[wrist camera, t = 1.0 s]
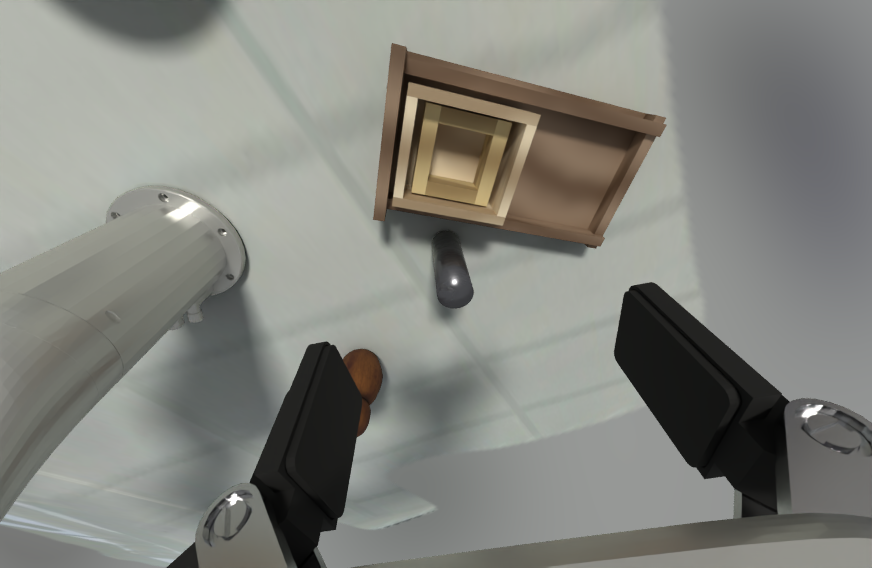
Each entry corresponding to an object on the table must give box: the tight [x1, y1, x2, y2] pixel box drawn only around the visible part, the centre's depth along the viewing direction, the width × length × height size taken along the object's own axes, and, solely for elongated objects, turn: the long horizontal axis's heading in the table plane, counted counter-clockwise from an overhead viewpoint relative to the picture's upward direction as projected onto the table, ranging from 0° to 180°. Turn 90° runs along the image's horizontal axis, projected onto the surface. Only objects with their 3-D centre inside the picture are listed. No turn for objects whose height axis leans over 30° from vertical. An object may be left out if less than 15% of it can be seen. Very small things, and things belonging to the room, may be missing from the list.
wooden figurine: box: [343, 349, 383, 437], centre depth 39 cm, size 7×6×15 cm
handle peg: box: [432, 231, 474, 308], centre depth 31 cm, size 3×3×10 cm
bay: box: [373, 43, 666, 248], centre depth 29 cm, size 13×24×5 cm, turn 78°
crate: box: [392, 82, 541, 226], centre depth 27 cm, size 9×10×5 cm
